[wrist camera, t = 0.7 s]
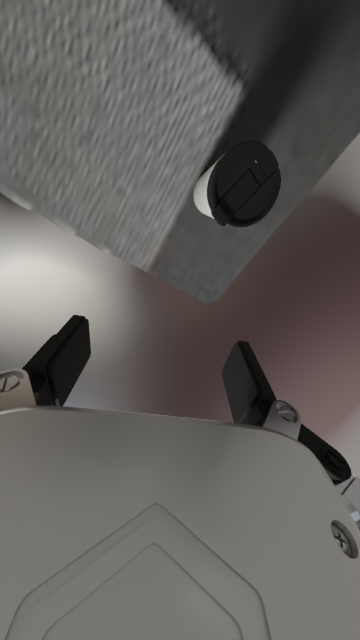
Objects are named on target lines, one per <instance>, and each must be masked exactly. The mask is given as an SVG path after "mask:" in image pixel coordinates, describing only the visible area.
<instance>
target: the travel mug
mask: <svg viewBox="0 0 360 640" xmlns="http://www.w3.org/2000/svg"><path fill="white" fill-rule="evenodd" d="M267 148H268V147H266V146H265V145H264V144H262V143H261V142H259V141H253V140H252V141H245V142H242V143H239V144H237V145H236V146H234V147H233V148H231V149H230V150H229V151H228V152H227V153H225V154H224V155H223V156H222V157H221V158H220V159H219V160H218V161H217V162H216V163H215V164H213V165H212V166H211V167H210V168H209V169H208V170H207V171H206V172H205V173H204V174H203V175H202V176H201V177H200V178H199V180H198V181H197V183H196V185H195V188H194V193H193V198H194V203H195V205H196V207H197V209H198V210H199V211H200V212H202V213H203V214H205V215H207V216H210V217H212V218H214V219H215V220H216V221H217V222H218V224H220V225H221V226H225V225H226V224H229V225H231V226H234V227H248V226H250V225H253V224H255V223H257V222H258V221H260V220H261V219H262V218H264V217H265V216H266V215H267V213H268V212H269V211H270V210H271V208H272V207H273V205H274V203H275V201H276V199H277V197H278V193H279V190H280V184H281V176H280V170H279V168H278V162H277V160H276V157H275V155H274V154H273V153H272V151H271V150H269V149H267Z"/></svg>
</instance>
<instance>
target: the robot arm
mask: <svg viewBox="0 0 360 640" xmlns="http://www.w3.org/2000/svg"><path fill="white" fill-rule="evenodd" d="M90 354H91V349H90V335H89V322H88V319H86V318H85V317H84V316H78V315H73V316H72V317H71V318H70V320H69V321H68V322H67V323H66V324H65V325H64V326H63V327H62V329H61V330H60V331H59V332H58V333H57V334H55V335H53V336H52V337H51V338H50V339H49V340H48V341H47V342H46V343H45V344H44V345H43V346H42V347H41V349H40V350H39V351H38V352H37V353H36V354H35V355H34V356H33V357H32V358H31V359H30V361H29V362H28V363H27V364H26V365H25V366H24V367H23V368H22V369H9V370H4V371H2V372H0V640H360V479H359V478H358V477H355V478H354V477H353V476H352V475H351V469H350V467H349V465H348V463H347V461H346V460H345V458H344V457H343V456H342V455H341V454H340V453H339V452H338V451H337V450H336V449H334V448H333V447H332V446H330V445H329V444H328V443H326V442H325V441H324V440H322V439H321V438H320V437H318V436H317V435H316V434H314V433H313V432H312V431H310V430H309V429H308V428H306V427H305V426H304V425H303V424H301V417H300V414H299V413H298V411H297V410H296V409H295V408H294V407H293V406H292V405H291V404H289V403H288V402H286V401H283V400H277V399H276V397H275V395H274V393H273V391H272V389H271V387H270V385H269V383H268V381H267V379H266V377H265V375H264V373H263V371H262V369H261V367H260V365H259V363H258V361H257V359H256V357H255V355H254V353H253V351H252V349H251V347H250V345H249V343H248V342H245V341H238V342H236V343H235V344H234V346H233V348H232V350H231V352H230V354H229V357H228V359H227V361H226V363H225V365H224V367H223V369H222V377H223V381H224V385H225V389H226V393H227V397H228V401H229V405H230V409H231V413H232V416H233V420H234V423H231V422H222V421H213V420H203V419H194V418H184V417H174V416H164V415H153V414H143V413H133V412H123V411H112V410H101V409H91V408H78V407H64V406H63V405H64V403H65V401H66V399H67V398H68V396H69V394H70V392H71V390H72V388H73V387H74V385H75V383H76V381H77V379H78V377H79V376H80V374H81V372H82V370H83V369H84V367H85V365H86V363H87V361H88V359H89V358H90Z"/></svg>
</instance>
